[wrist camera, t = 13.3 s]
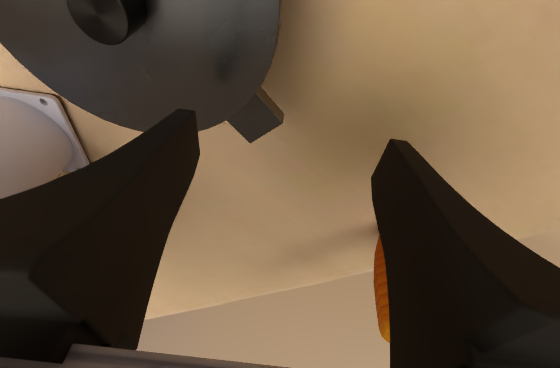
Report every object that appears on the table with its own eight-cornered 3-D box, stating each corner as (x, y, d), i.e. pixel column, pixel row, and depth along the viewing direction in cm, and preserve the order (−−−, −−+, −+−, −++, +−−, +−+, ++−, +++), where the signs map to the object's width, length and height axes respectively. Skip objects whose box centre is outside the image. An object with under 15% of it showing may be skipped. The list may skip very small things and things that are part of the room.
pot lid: (166, 156, 18) (149, 187, 16) (-93, -41, 11) (-169, -26, 9) (342, 27, 12) (348, 53, 10) (14, -540, 5) (-133, -751, 4)
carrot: (356, 214, 29) (382, 397, 19) (408, 202, 27) (468, 397, 17) (369, 240, 32) (397, 409, 22) (417, 231, 30) (472, 410, 20)
